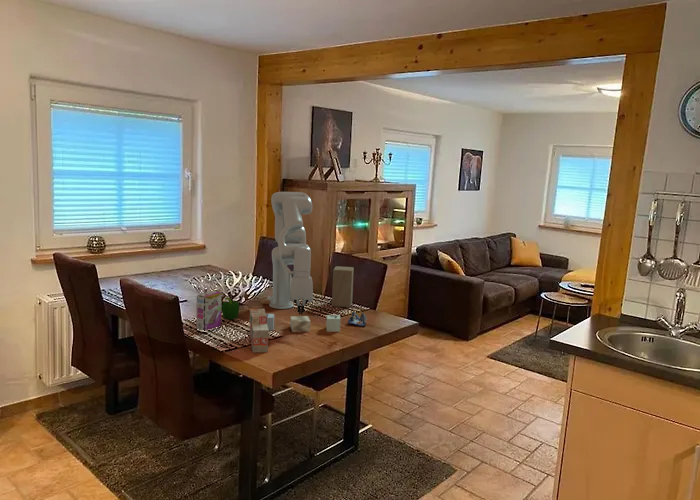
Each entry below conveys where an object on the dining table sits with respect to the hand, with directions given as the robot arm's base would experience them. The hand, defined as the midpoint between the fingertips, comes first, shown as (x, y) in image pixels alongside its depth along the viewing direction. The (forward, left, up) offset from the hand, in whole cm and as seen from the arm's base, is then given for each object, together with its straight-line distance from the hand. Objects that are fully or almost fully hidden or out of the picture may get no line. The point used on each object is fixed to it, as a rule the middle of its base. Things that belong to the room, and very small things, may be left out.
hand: (300, 313), depth 244 cm
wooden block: (-3, +49, -7) cm, 50 cm away
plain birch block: (0, 0, -8) cm, 7 cm away
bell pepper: (-36, -4, -7) cm, 37 cm away
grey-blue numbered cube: (-13, -7, -7) cm, 17 cm away
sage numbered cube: (+13, +8, -7) cm, 17 cm away
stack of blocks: (-4, -26, -8) cm, 28 cm away
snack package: (+19, +23, -8) cm, 31 cm away
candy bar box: (-33, -23, -7) cm, 41 cm away
